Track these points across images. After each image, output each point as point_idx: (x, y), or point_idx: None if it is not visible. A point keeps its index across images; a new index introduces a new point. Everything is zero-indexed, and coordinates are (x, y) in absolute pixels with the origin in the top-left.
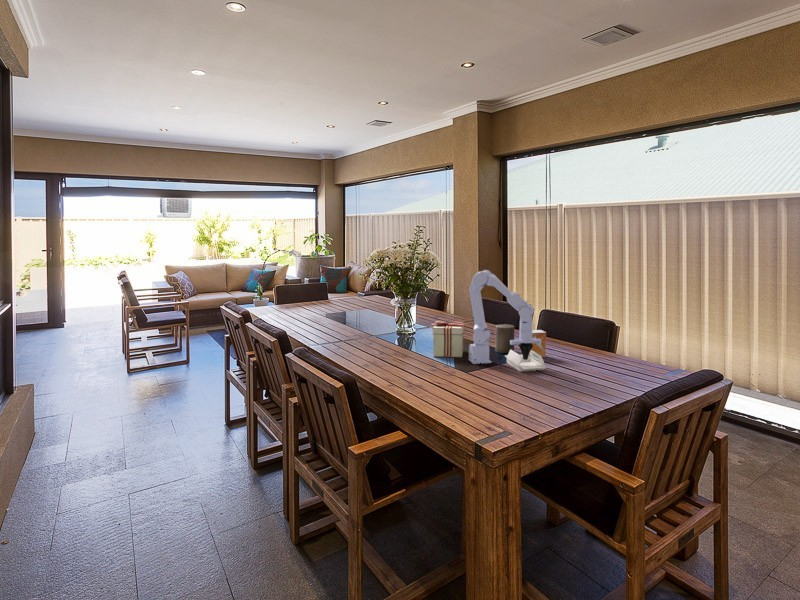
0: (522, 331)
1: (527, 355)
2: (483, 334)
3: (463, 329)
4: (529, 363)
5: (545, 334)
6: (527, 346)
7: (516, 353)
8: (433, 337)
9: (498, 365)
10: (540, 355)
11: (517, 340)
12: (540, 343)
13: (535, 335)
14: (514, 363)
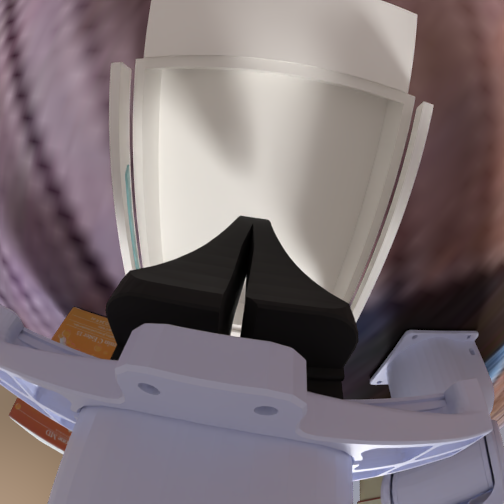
0: None
1: (238, 232)
2: (501, 472)
3: (369, 501)
4: (192, 245)
5: (15, 407)
6: (251, 299)
7: (370, 291)
8: None
9: (413, 286)
10: (113, 79)
11: (391, 462)
12: (4, 306)
13: (66, 434)
14: (385, 210)
